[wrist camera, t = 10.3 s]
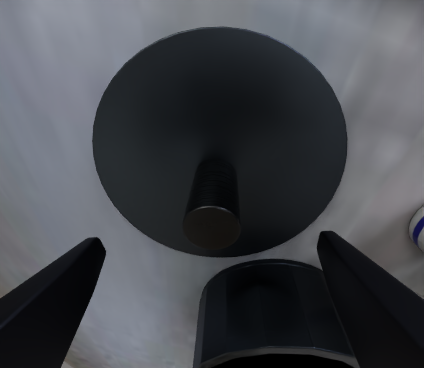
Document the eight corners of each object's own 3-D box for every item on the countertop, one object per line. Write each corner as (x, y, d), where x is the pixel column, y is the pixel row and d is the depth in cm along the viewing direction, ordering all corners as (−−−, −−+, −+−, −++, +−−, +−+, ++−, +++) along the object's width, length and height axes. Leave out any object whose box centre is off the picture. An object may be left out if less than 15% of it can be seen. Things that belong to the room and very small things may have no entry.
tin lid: (372, 8, 9) (523, -33, 5) (316, 244, 17) (350, 319, 12) (57, 47, 11) (-76, 47, 6) (139, 248, 19) (109, 316, 14)
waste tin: (356, 257, 18) (414, 351, 12) (325, 335, 25) (353, 415, 20) (192, 259, 19) (178, 345, 14) (208, 332, 26) (204, 407, 21)
